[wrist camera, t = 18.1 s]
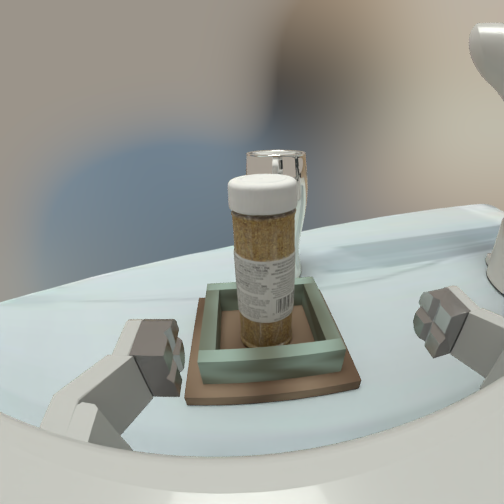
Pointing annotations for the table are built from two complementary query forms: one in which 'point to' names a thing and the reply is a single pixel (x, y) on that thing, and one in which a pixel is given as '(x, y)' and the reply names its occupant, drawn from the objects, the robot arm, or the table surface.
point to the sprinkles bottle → (264, 255)
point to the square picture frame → (266, 353)
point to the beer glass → (291, 166)
